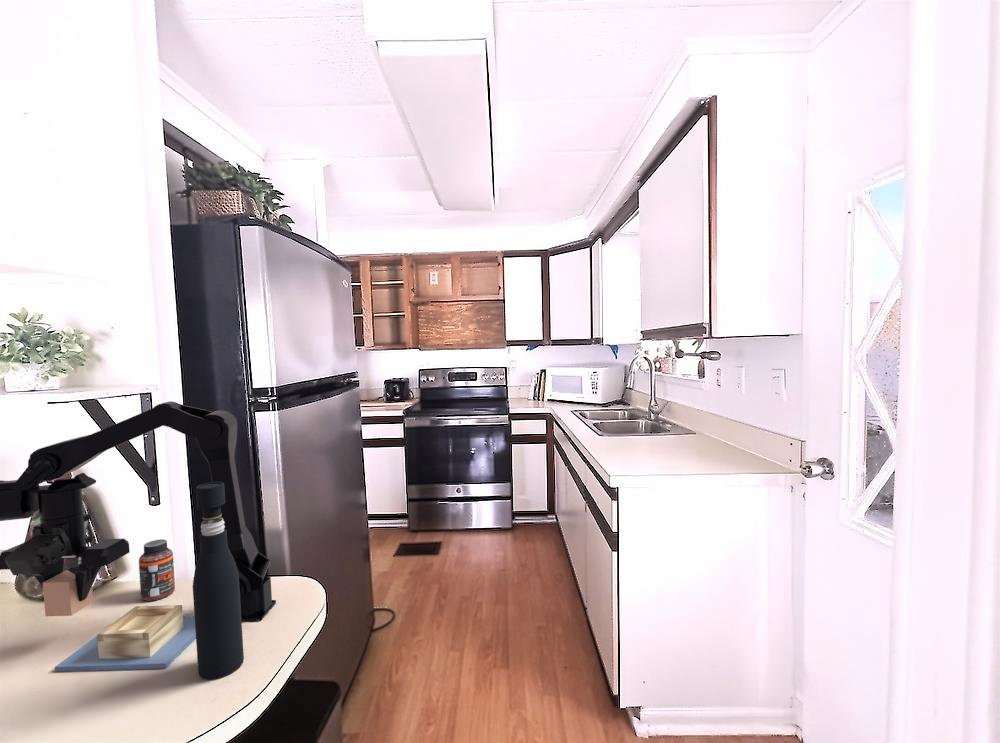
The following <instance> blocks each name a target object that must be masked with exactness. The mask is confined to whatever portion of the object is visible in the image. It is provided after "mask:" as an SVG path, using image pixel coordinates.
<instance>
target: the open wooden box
mask: <svg viewBox="0 0 1000 743" xmlns="http://www.w3.org/2000/svg"><path fill="white" fill-rule="evenodd" d="M183 616H184V613H183V605H182V604H173V605H171V604H170V605H169V604H168V605H141V606H139V605H138V606H137V605H136V606H134V607H132V608H131V609H130V610H129V611H127V612H125V613H124V614H123V615H121V616H120V617H118V618H117V619H116V620H115V621H114V622H112V623H110V624H109V625H108V626H107V627H105V628H103V630H100V632H98V633H97V634H96V636H97V640H98V652H99V659H110V658H142V657H151V656H152V655H153V654H154V653H156V652H157V651H158V650H159V649H160V648H161V647H162V646H163V645H164V644H166V643H167V642H168V641H169V640H170V639H171V638H172V637H173V636H174V635H175V634H177V633H178V632H179V631H180V630H181V629H182V628H183V627H184V625H183Z"/></svg>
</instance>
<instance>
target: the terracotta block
mask: <svg viewBox="0 0 1000 743" xmlns="http://www.w3.org/2000/svg"><path fill="white" fill-rule="evenodd" d="M42 592H43V604H44V614H45V616H44V617H68V616H69V617H71V616H73V615H75V614H76V613H78V612H79V611H81V610H82V609H84V608H85V607H87V606H89V605H90V604H92V603H94V597H93V596H94V594H93V586H92V587H91V589H90V591H89V593H88V596H87V598H86V599H84V600H83V601H79V598H78V594H77V586H76V577H75V574H73V573H71V572H70V571H68V570H63V572H62V573H60V574H58V575H56V576H55V577H53V578H51V579H49V580H47V581H45V582H43V587H42Z"/></svg>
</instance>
